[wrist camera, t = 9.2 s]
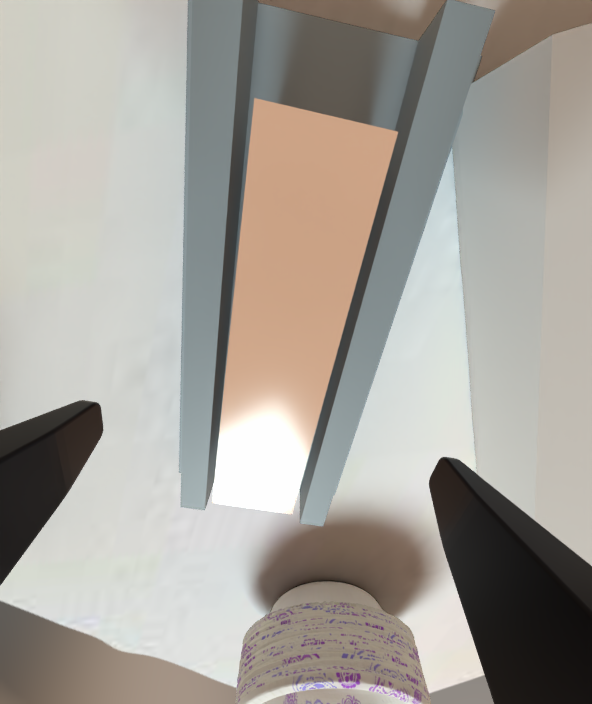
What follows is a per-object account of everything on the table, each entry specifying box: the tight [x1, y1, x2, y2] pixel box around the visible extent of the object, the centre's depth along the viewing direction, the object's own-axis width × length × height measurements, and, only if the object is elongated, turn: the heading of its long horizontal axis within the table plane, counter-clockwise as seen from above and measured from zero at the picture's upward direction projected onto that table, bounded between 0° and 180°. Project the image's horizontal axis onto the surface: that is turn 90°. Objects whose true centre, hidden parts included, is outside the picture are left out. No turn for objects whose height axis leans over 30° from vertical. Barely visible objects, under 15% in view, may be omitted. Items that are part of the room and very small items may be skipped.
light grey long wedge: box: [452, 23, 592, 566], centre depth 18 cm, size 34×5×10 cm
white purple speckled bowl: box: [235, 581, 431, 704], centre depth 26 cm, size 15×15×8 cm
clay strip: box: [212, 98, 398, 515], centre depth 14 cm, size 4×16×5 cm, turn 169°
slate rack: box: [179, 0, 495, 526], centre depth 15 cm, size 11×24×4 cm, turn 170°
